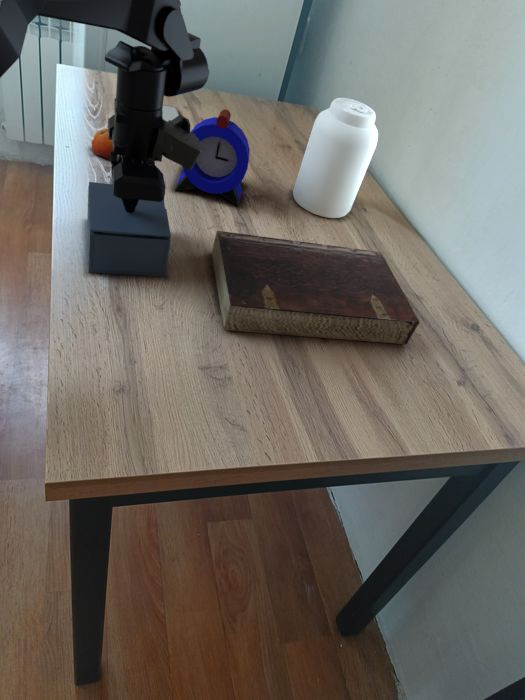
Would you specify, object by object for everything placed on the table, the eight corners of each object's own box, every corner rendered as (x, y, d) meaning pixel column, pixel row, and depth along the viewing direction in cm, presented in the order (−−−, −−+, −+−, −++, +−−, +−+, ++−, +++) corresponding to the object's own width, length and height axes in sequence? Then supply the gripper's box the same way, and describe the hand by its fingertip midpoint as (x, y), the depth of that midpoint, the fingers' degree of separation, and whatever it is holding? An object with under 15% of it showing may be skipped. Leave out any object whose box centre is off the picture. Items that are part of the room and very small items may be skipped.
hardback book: (370, 272, 97) (381, 249, 93) (405, 346, 84) (419, 322, 80) (211, 253, 88) (217, 227, 85) (223, 331, 76) (230, 304, 72)
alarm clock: (173, 192, 99) (185, 111, 89) (184, 164, 108) (196, 87, 98) (238, 208, 101) (257, 130, 91) (243, 179, 110) (261, 105, 100)
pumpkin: (132, 135, 108) (132, 118, 101) (136, 169, 108) (137, 155, 101) (91, 136, 106) (88, 119, 99) (95, 170, 106) (92, 156, 99)
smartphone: (177, 107, 126) (186, 135, 116) (176, 109, 127) (185, 138, 117) (145, 101, 124) (151, 130, 114) (144, 104, 124) (151, 133, 114)
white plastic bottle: (346, 195, 117) (382, 102, 103) (352, 225, 107) (392, 127, 94) (291, 181, 115) (320, 85, 101) (291, 211, 106) (324, 108, 92)
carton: (165, 276, 81) (171, 236, 76) (88, 272, 77) (89, 229, 73) (156, 228, 90) (161, 189, 85) (87, 222, 86) (88, 181, 81)
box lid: (170, 237, 77) (170, 236, 76) (90, 231, 73) (90, 229, 73) (166, 210, 80) (166, 208, 80) (89, 203, 77) (89, 201, 77)
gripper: (215, 144, 64) (194, 253, 74) (192, 84, 76) (177, 184, 86) (117, 131, 60) (110, 247, 70) (110, 69, 72) (105, 176, 83)
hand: (129, 211), depth 77 cm, fingers closed
